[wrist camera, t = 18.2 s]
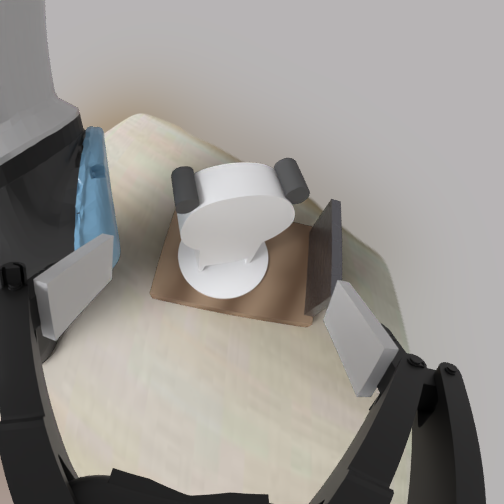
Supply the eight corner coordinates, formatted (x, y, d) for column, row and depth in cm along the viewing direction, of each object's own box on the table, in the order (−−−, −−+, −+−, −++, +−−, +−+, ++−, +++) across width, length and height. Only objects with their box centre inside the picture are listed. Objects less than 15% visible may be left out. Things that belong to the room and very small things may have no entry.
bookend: (303, 315, 34) (330, 296, 27) (309, 231, 39) (331, 199, 32) (312, 316, 34) (341, 297, 27) (317, 233, 40) (340, 201, 32)
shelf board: (152, 298, 34) (149, 293, 32) (179, 206, 40) (178, 198, 38) (306, 327, 35) (312, 324, 34) (312, 234, 42) (317, 227, 40)
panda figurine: (259, 211, 39) (287, 129, 26) (283, 287, 35) (332, 226, 22) (172, 223, 36) (163, 138, 23) (186, 306, 32) (176, 251, 19)
